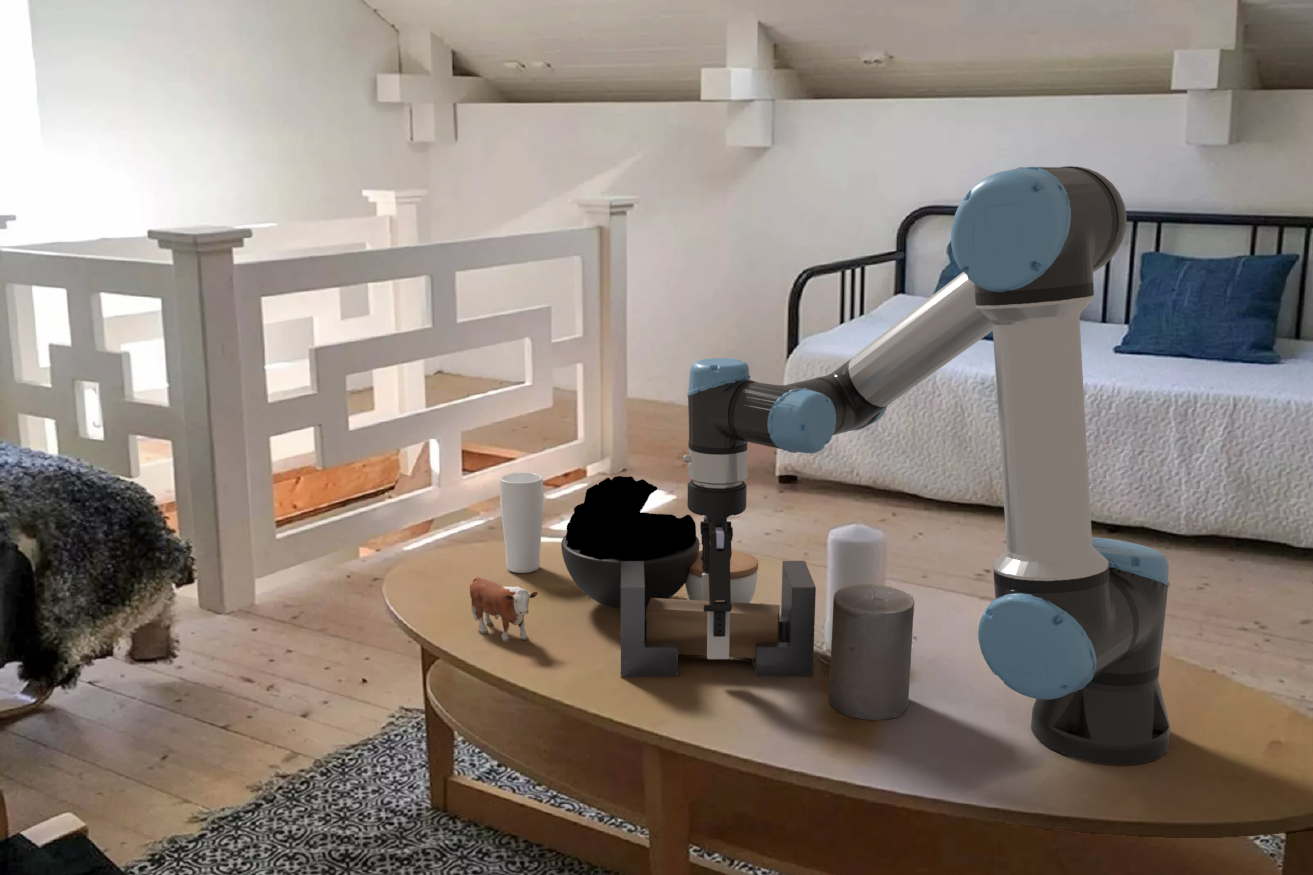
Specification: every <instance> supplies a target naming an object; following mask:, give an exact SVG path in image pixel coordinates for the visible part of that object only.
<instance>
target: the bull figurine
mask: <svg viewBox="0 0 1313 875" xmlns="http://www.w3.org/2000/svg"><path fill="white" fill-rule="evenodd" d="M537 595H538V591H535V590H534V591H532V592H528V590H527V589H525V588H521V587H520V586H505V585H502V584H500V583H497V582H495V581H492V580H489V579H485V578H481V577H474V578H473V580H472V582H471V584H470V585H469V596H470V599H471V600H470V601H471V605H470V606H471V614H472V616H473V618H474V620H475V621H476V622H477V621H478V625H479V627H478V630H479V631H480V634H481V635H482V634H483V635H485V634H488V633H489V631H488V628H487V626H490V627H491V626H493V625H494V622H493V621H492V619H491V617H490V616H492V617H494V619H495V620H498V619H499V618H501V622H502V628H503V632H502V634H501V636H500V637H501V638H502V642H505V643H509V642H510V637H509V633H508V631H509V629H510V624H511V625H513V626H517V627H518V628H519V636H520V637H521V638H520V639H521V640H522V641H528V640H529V636H528V635H527V632H526V629H525V627H526V626H525V625H526V624H525V621H524V618H525V615H528V614H529V612H530V611H529V603H530V599H533V598H535V597H536V596H537ZM484 621H485V622H484ZM485 623H486V624H485ZM486 625H487V626H486Z"/></svg>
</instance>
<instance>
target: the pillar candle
mask: <svg viewBox="0 0 1313 875" xmlns="http://www.w3.org/2000/svg"><path fill="white" fill-rule="evenodd" d="M832 601H833V603H832V624H831V625H832V626H831V628H832V630H831V649H830V659H829V660H830V662H829V663H830V666H829V684H828V690H829V691H828V703H829V705H830V706H831V707H832V709H834V710H835V711H837V712H839V713H840V714H841V715H844V716H847V717H850V718H855V719H859V720H867V721H882V720H883V721H884V720H890V719H894V718H898V717H900V716H901V715H903V713H904V712H905V711H906V710H907V708H908V705H909V696H910V682H911V680H910V676H911V667H912V666H911V665H912V664H911V663H912V649H913V648H912V644H913V629H914V613H915V599H914V596H913V595H912V594H911V593H907V591H903V590H902V589H899V588H896V587H892V586H888V585H887V586H886V585H883V584H871V583H868V584H867V583H865V584H854V585H852V584H851V585H848V586H845V587H842V588H840V589H837V591H836V592H835V593H834V594H833V600H832Z"/></svg>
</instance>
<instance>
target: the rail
mask: <svg viewBox="0 0 1313 875" xmlns="http://www.w3.org/2000/svg"><path fill="white" fill-rule="evenodd" d="M715 602H718V601H715ZM704 605H709V601H700V600H690V599H680V598H678V599H677V598H669V599H663V598H651V599H650V601H649V604H648V606H647V608H646V609H645V611H646V612H645V613H646V614H645V615H646V617H645V618H646V643H678V655H692V656H693V655H695V656H707V636H708V612H704ZM731 605H732V609H731V612H730V633H729V658H741V659H742V658H743V659H744V658H746V659H748V658H749V659H752V658H755V651H756V643H779V617H780V613H781V607H780V606H781V604H771V603H769V604H768V603H752V602H750V603H737V602H731Z"/></svg>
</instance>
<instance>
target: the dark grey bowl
mask: <svg viewBox="0 0 1313 875" xmlns="http://www.w3.org/2000/svg"><path fill="white" fill-rule="evenodd" d="M658 490H659V489H658V487H657V486H656V485H654V484H652V483H649V482H648V481H646V480H645V479H643V478H641V479H639V480H636V479H635V478H634V476H623V475H618V476H613V478H610V477H607V478H605V479H603V480H601V481H599V482H598V484H597V483H596V484H594V485H592V486H590V487H589V488H587V489H586V491H585V496H584V501H583V502H582V503H579V504H578V505H576V506H575V507H574V508H573V513H572V515H571V517H570V519H569V522H567V525H566V528H565V529H566V534H565V535H564V536H563V538H562V539H561V543H560V546H561V554H562V558H563V562H564V565H565V567H566V570H567V572H568V573H569V576H570V577H571V579H572V581H573V582H574V583H575V584H576V586H577V587H578V588H579V589H580V590H581V591H582V592H583V594H585V595H586V596H588V597H589V598H591V599H592V600H593V601H594V602H596V603H598V604H600V605H603V606H605V607H608V608H611V609H615V610H619V611H621V561H644V583H645V610H646V608H647V606H648V604H649V601H650V599H651V598H663V599H671V598H672V597H673V596H675V594H677V593H678V592H679V591H680V590H681V589H682V588H683V586H684V585H685V583H686V580H687V577H688V575H689V569H690V566H691V565H693V564H694V563H695V561H696V560H697V558H698V553H699V551H700V547H701V545H700V540H699V537H698V536H697V527H696V525H697V524H696V521H695V520H694V518H693V517H692V516H691V514H685V515H684V516H682V517H677V516H676V515H674V514H669V513H653V512H652V513H649V512H641V511H642V510H643V509H644V507H645V505H646V503H647V502H648V499H649V498H650V496H651V494H653V493H655V492H656V491H658Z"/></svg>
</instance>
